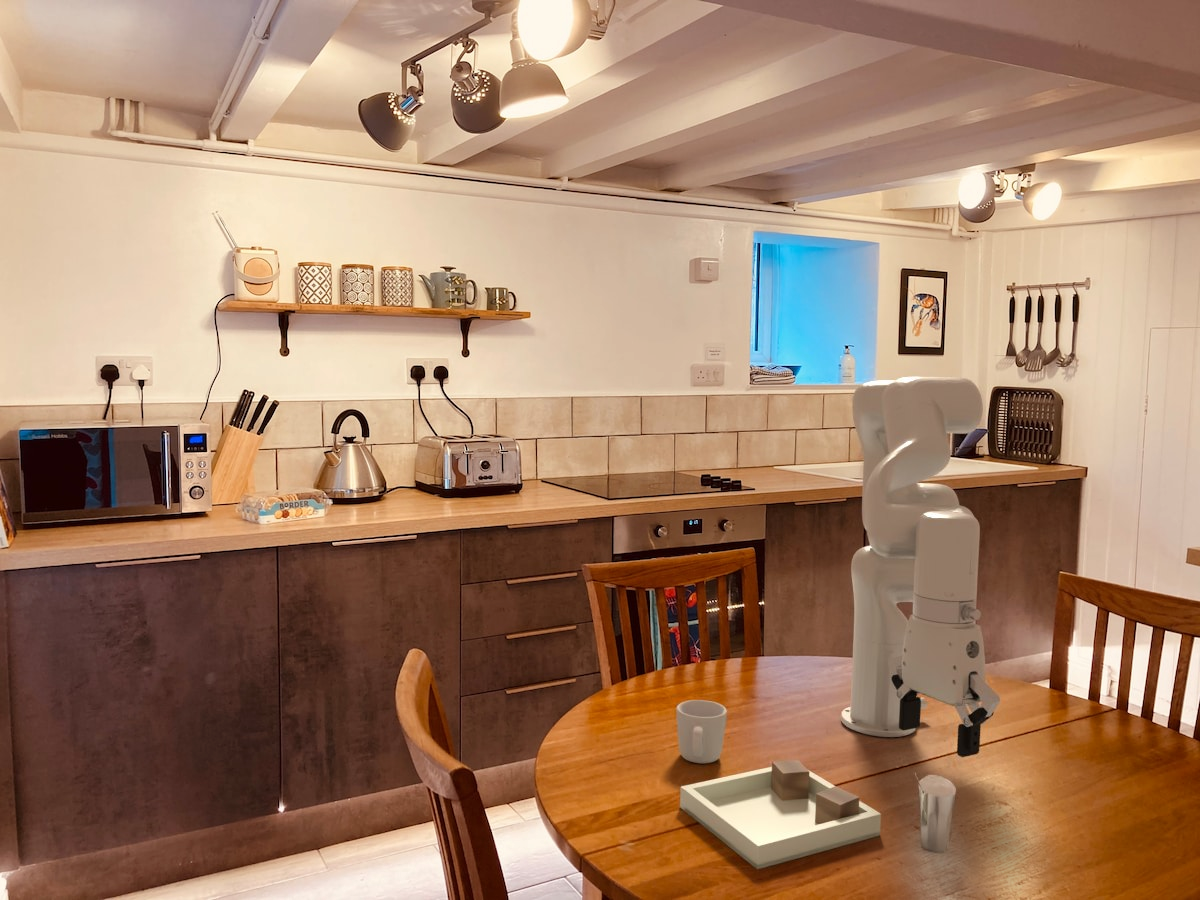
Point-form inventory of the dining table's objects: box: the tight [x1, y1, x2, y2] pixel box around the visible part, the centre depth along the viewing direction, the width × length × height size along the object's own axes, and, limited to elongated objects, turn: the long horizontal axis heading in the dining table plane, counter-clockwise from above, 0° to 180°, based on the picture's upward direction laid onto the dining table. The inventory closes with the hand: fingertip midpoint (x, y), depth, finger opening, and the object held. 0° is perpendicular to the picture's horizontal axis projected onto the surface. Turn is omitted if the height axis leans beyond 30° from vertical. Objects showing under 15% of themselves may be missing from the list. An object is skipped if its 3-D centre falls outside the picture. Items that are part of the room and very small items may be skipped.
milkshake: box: [913, 771, 957, 853], centre depth 122 cm, size 4×5×10 cm
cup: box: [675, 699, 728, 764], centre depth 147 cm, size 11×8×8 cm
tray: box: [679, 766, 882, 870], centre depth 128 cm, size 20×18×3 cm
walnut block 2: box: [815, 785, 860, 824], centre depth 126 cm, size 4×4×4 cm
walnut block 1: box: [771, 759, 810, 801], centre depth 135 cm, size 4×4×4 cm
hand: (937, 741), depth 120 cm, fingers open, 9 cm apart
